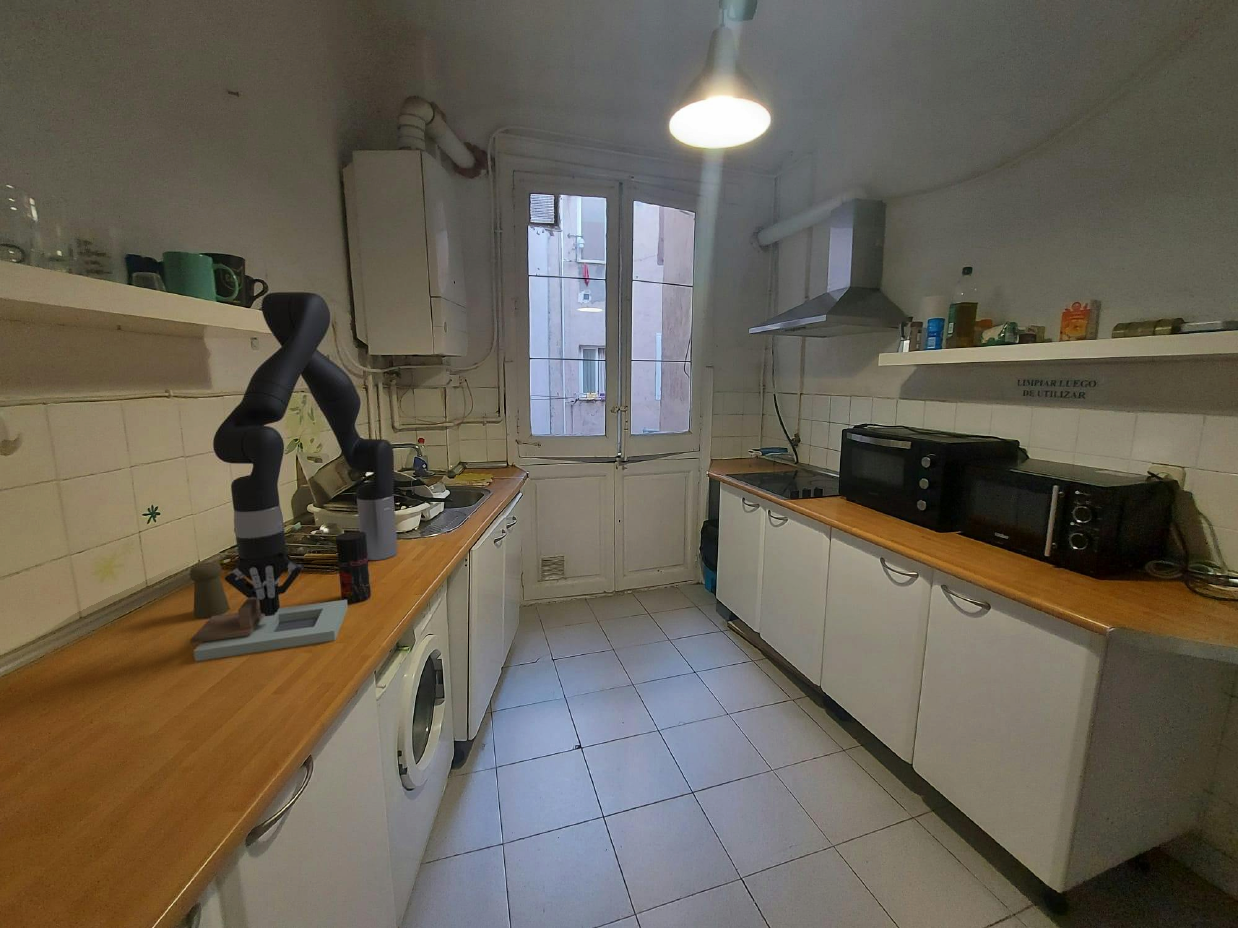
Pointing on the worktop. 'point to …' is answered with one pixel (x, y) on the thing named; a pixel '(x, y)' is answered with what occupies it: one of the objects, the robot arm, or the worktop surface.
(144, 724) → the worktop surface
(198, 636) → the cover
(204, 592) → the cork
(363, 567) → the deodorant
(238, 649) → the socket board
